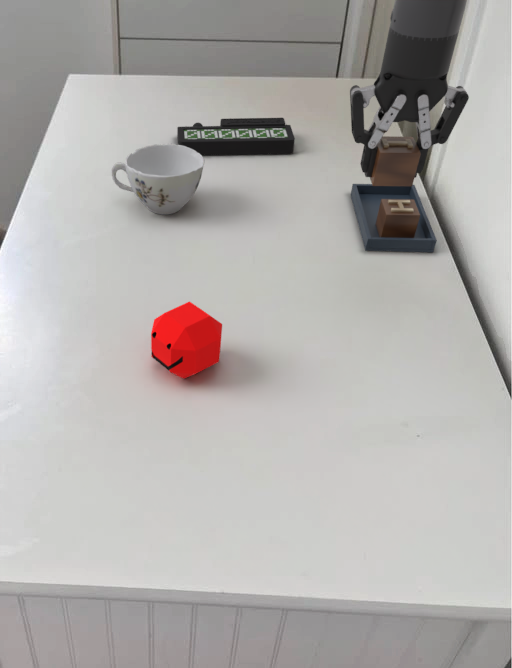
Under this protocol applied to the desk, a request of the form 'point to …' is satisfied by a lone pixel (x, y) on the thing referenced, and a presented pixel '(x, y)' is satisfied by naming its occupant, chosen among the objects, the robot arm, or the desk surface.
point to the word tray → (367, 209)
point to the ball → (186, 340)
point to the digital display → (239, 137)
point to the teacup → (162, 176)
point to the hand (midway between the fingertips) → (389, 174)
